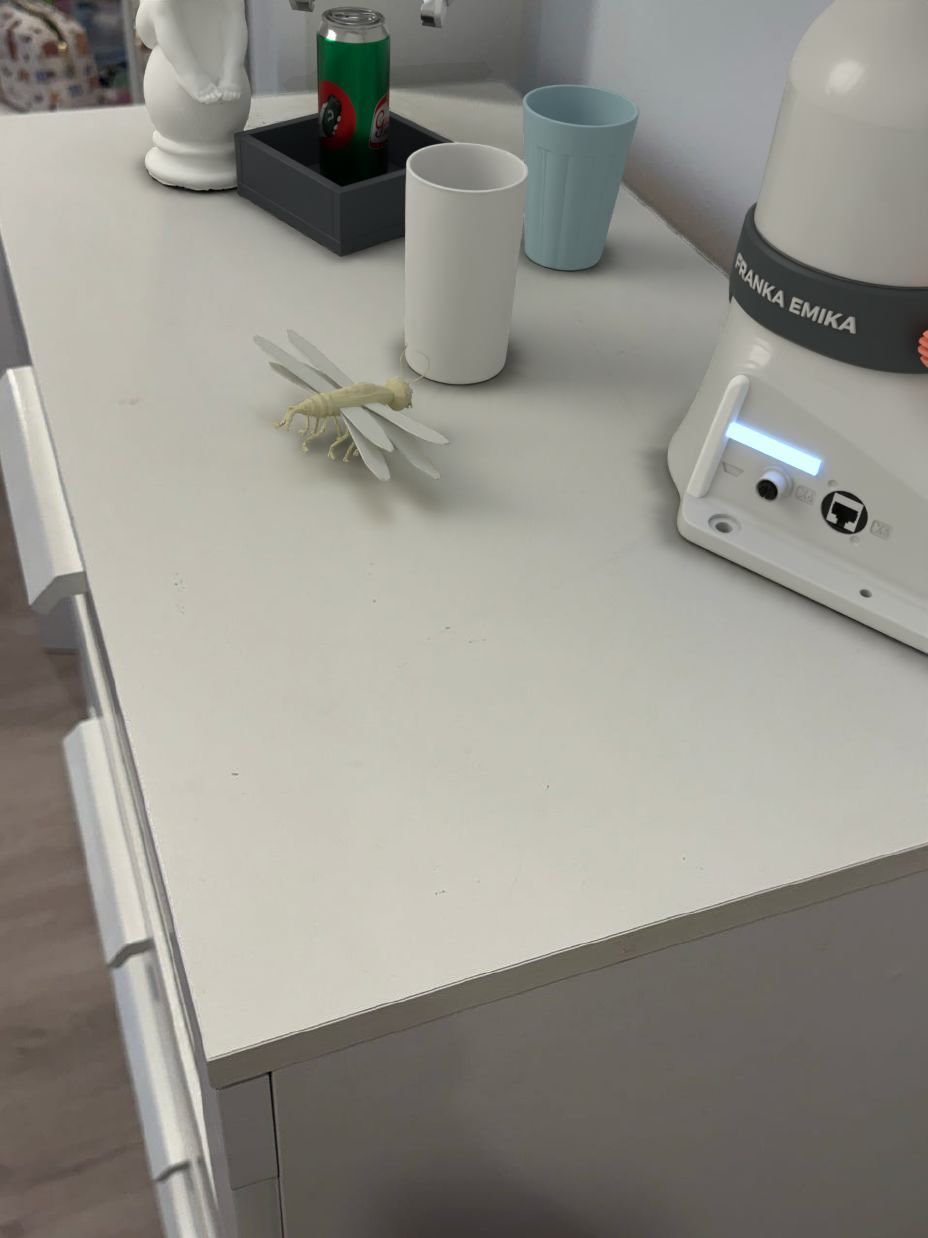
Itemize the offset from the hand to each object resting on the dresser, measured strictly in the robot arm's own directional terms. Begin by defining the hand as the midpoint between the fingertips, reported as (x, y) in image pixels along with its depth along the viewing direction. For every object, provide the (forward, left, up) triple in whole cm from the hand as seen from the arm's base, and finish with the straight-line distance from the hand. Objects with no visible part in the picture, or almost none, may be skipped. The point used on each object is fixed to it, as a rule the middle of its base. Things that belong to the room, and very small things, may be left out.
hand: (365, 14), depth 83 cm
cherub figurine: (+11, +10, -12) cm, 19 cm away
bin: (-2, +3, -12) cm, 13 cm away
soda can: (-2, +3, -11) cm, 12 cm away
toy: (-27, +23, -12) cm, 37 cm away
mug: (-22, +11, -12) cm, 28 cm away
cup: (-17, -4, -12) cm, 22 cm away
